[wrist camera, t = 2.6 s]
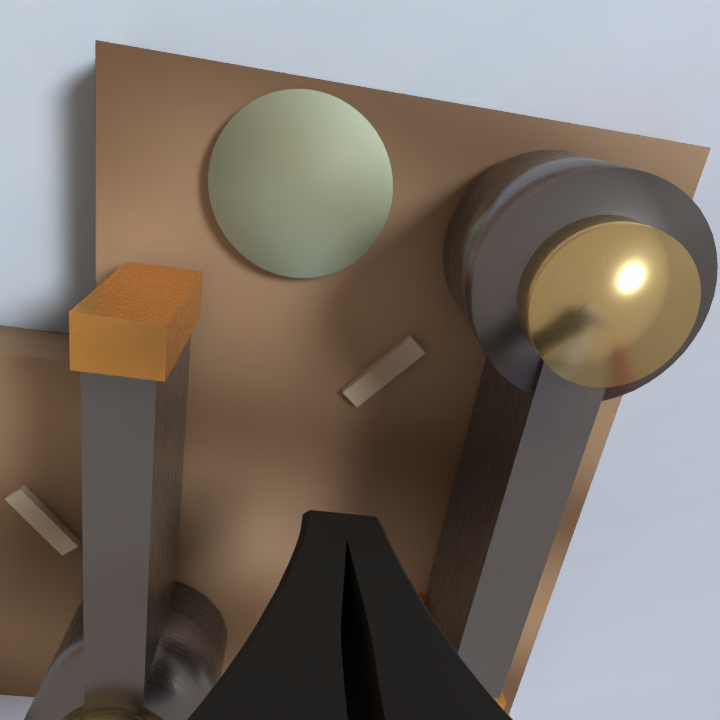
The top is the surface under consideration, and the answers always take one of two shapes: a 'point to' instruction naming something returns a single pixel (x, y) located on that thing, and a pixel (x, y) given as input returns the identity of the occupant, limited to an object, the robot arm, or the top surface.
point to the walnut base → (279, 330)
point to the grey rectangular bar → (134, 511)
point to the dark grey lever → (551, 364)
